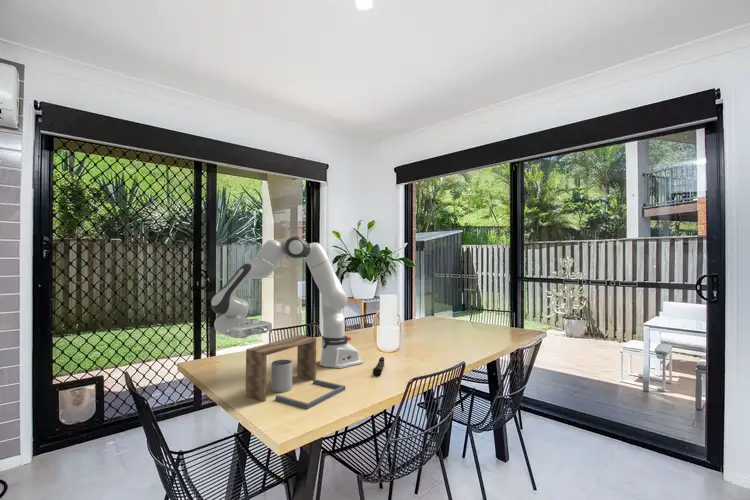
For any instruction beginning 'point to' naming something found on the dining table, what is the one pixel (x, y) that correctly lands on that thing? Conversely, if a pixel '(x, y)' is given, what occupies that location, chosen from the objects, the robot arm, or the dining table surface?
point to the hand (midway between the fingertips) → (263, 331)
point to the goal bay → (308, 405)
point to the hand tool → (379, 367)
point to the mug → (281, 375)
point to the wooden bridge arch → (258, 355)
